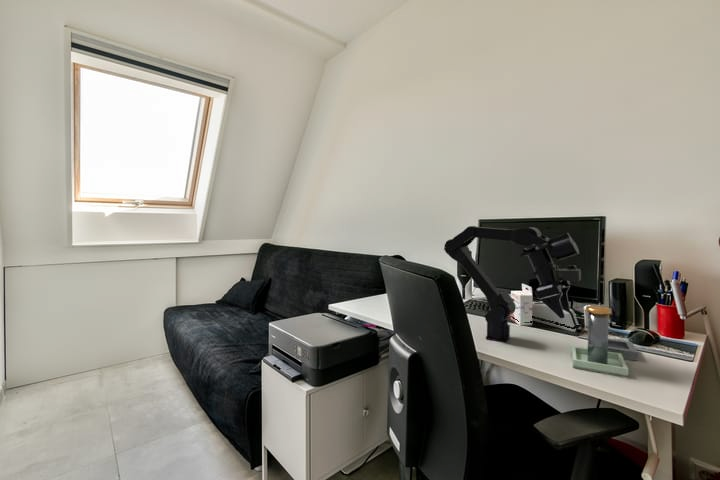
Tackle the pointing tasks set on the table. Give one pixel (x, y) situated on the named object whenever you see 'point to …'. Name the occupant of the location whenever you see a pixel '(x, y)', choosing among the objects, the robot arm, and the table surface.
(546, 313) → the grey arched block
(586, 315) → the milkshake
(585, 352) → the tray
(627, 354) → the frame
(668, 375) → the table surface
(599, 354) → the grey and gold cylinder
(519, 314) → the ink cartridge box
